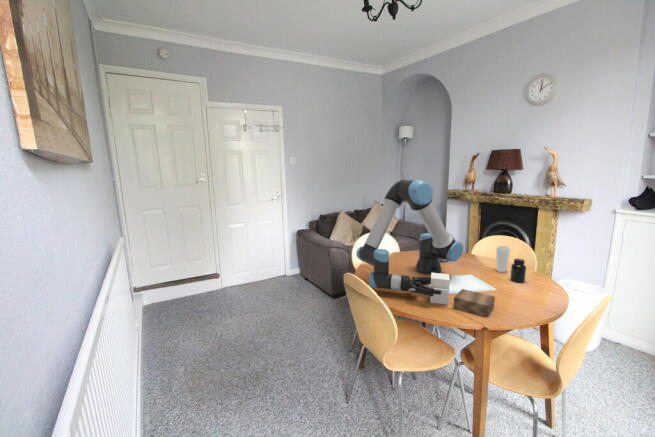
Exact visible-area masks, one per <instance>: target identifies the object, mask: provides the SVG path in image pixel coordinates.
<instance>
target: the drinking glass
mask: <svg viewBox="0 0 655 437" xmlns="http://www.w3.org/2000/svg"><path fill="white" fill-rule="evenodd" d="M510 249H511V248H510V247H509V246H506V245H497V246H496V252H495V253H496V272H499V273H506V272H507V270H508V264H509V259H510V252H511V250H510Z"/></svg>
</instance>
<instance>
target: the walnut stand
mask: <svg viewBox="0 0 655 437" xmlns="http://www.w3.org/2000/svg"><path fill="white" fill-rule="evenodd" d="M495 298H496V296H494V295H489V294H486V293H481V292H476V291H472V290H468V289H464V288H462V289H461V290H460V291H459V292H458V293H457V294H456V295H455V296H454V297H453V309H457V310H459V311H464V312H467V313H471V314H475V315H479V316H482V317H485V318H489V316H490V315H491V312H492V311H493V309H494V308H495V303H496V302H495Z"/></svg>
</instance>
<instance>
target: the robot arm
mask: <svg viewBox="0 0 655 437" xmlns="http://www.w3.org/2000/svg"><path fill="white" fill-rule="evenodd" d="M433 193H434V191H433V187H432V186H431V184H430V183H429V182H427V181H424V180H421V179H420V180H419V179H417V180H413V179H401V180H398V181H396V182H395V183H394V184H393V185H392V186H390V188H389V190H388V191H387V193H386V194H385V196H384V198H383V202H384V203H383V204H382V207H381V209H380V211H379V213H378V215H377V217H376V220H375V221H374V224H373V226H372V227H371V230H370V231H369V233H368V235H367V238H366V239H365V241H364V245H363V246H360V247H359V248H357V250H356V253H355V255H356V257H357V259H359V260H360V261H361V262H363V263H366V264H368V265H370V266H372V267H373V271H371V272H369V276H368V284H369V287H371V288H376V289H383V290H393V291H402V292H409V290H410V292H411V293H417V294H421V295H424V296H429V297H430V296H433V294H436V295H444V296H450V289H449V290H447V289H438V288H434V289H432V288H431V287H429V286H428V285H431V276H429V277H428V276H425V277H423V276H422V277H421V276H420V277H419V276H418V277H417V276H413V277H412V279H410V275H404V274H402V275H400V274H395V273H394V274H393V273H390V272H389V271H390V268H389V267H390V252H389V250H387V249H383V248H379V247H380V245H381V243H382V242H383V239H384V237H385V235H386V233H387V231H388V228H389V227H390V225H391V222H392V220H393V218H394V216H395V215H396V214H395V213H396V211H397V210H398V208H401V205H402V204H403V203H407V204H408V205H409V208H410V209H411V210H412V211H414V212H416V213H417V215H418V217H419V219H420V220H421V222H422V223H423V225H424V227H425V229H426V231H427V232H428V233H422V234H420V235H419V241H418V244H419V246H418V250H419V251H418V259H417V262H416V265H415V271H416V272H418V273H420V274H424V275H431V273H441V274H442V273H443V268H442V265H441V261H440V260H439V258H442V259H445V260H447V262H453V263H454V262H457V261H458V260H460V258H461V257H462V255H463V252H464V245H463V244H462V242H460V241H458V240H456V239H455V237H454V236H453V234H451V233H449V232H448V230H447V229H446V226H445V225H444V223H443V222H442V219H441V218H440V216H439V214H438V213H437V210H436V209H435V207H434V205H433V203H432V202H433V197H434V194H433Z"/></svg>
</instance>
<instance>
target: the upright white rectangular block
mask: <svg viewBox="0 0 655 437" xmlns="http://www.w3.org/2000/svg"><path fill="white" fill-rule="evenodd" d="M430 277H431V284H430V288H432V289H434V288H438V289H447V290H449V291H450V282H451V281H450V280H451V279H450V273H442V272H441V273H431V274H430ZM449 296H450V295H449ZM449 296H444V295H436V294H433V296H429V303H430V304H431V303H432V304H437V305H438V304H439V305H447V306H448V305H449Z"/></svg>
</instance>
